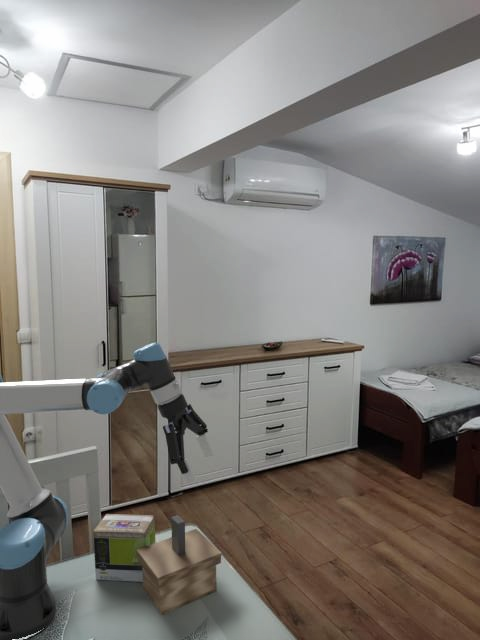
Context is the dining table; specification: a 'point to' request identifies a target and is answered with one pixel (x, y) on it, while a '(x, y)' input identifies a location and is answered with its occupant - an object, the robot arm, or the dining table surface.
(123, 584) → the dining table surface
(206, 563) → the lid
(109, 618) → the dining table surface
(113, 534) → the tea box
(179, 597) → the wooden box
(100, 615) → the dining table surface
